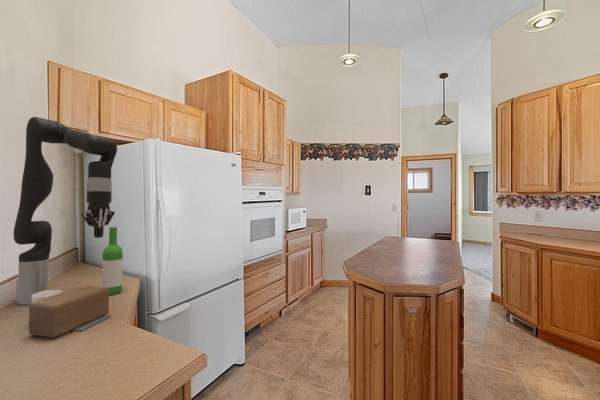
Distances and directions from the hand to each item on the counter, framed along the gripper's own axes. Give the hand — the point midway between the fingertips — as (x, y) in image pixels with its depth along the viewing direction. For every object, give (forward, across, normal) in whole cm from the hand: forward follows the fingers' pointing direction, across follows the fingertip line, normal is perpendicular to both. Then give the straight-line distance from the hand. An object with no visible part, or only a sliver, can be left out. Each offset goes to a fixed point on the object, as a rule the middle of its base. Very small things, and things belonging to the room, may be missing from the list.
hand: (98, 237), depth 106 cm
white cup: (+29, +8, -12) cm, 32 cm away
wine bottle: (+29, -24, -14) cm, 40 cm away
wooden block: (+23, -1, 0) cm, 23 cm away
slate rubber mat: (+29, +6, 0) cm, 29 cm away
